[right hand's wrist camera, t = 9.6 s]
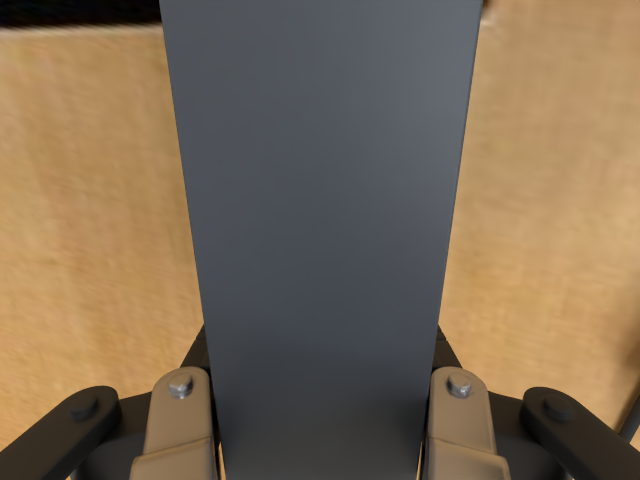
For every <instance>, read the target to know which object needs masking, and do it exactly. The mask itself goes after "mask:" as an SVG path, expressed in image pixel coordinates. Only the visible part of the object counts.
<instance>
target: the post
mask: <svg viewBox="0 0 640 480" xmlns="http://www.w3.org/2000/svg"><path fill="white" fill-rule="evenodd" d="M159 3H160V10H161V17H162V25H163V32H164V39H165V46H166V53H167V60H168V68H169V75H170V82H171V89H172V96H173V103H174V111H175V118H176V125H177V132H178V139H179V146H180V154H181V161H182V168H183V175H184V182H185V189H186V197H187V204H188V211H189V218H190V225H191V232H192V240H193V247H194V254H195V261H196V268H197V275H198V283H199V290H200V297H201V304H202V311H203V318H204V326H205V333H206V340H207V347H208V354H209V361H210V369H211V376H212V383H213V390H214V397H215V404H216V412H217V419H218V426H219V433H220V440H221V447H222V455H223V462H224V469H225V476H226V480H416V478H417V471H418V464H419V456H420V449H421V442H422V435H423V428H424V421H425V413H426V406H427V399H428V392H429V385H430V378H431V370H432V363H433V356H434V349H435V342H436V335H437V327H438V320H439V313H440V306H441V299H442V292H443V284H444V277H445V270H446V263H447V256H448V248H449V241H450V234H451V227H452V220H453V213H454V205H455V198H456V191H457V184H458V177H459V170H460V162H461V155H462V148H463V141H464V134H465V127H466V119H467V112H468V105H469V98H470V91H471V84H472V76H473V69H474V62H475V55H476V48H477V41H478V33H479V26H480V19H481V12H482V5H483V0H159Z"/></svg>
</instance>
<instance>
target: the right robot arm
mask: <svg viewBox="0 0 640 480" xmlns="http://www.w3.org/2000/svg"><path fill="white" fill-rule="evenodd" d="M639 425H640V395H639V396H638V398H637V400H636V402H635V404H634V406H633V407H632V409H631V411H630V413H629V415H628V417H627V419H626V421H625V423H624V424H623V426H622V428H621V430H620V432H619V434H617V433H616V432H614V431H613V430H612V429H611V428H610V427H608V426H607V425H606V424H605V423H603V422H602V421H601V420H600V419H599V418H597V417H596V416H595V415H594V414H592V413H591V412H590V411H589V410H588V409H586V408H585V407H584V406H583V405H581V404H580V403H579V402H578V401H576V400H575V399H573V398H572V397H570V396H569V395H567V394H565V393H563V392H560V391H558V390H555V389H551V388H547V387H533V388H530V389H528V390H526V392H525V393H524V396H523V400H520V399H516V398H512V397H508V396H504V395H500V394H496V393H493V392H490V391H488V390H487V388H486V386H485V384H484V383H483V381H482V380H481V379H480V378H479V377H477V376H476V375H474V374H473V373H471V372H469V371H467V370H465V369H463V368H462V366H461V364H460V363H459V361H458V359H457V357H456V355H455V354H454V352H453V350H452V348H451V346H450V345H449V343H448V341H446V337H445V336H444V334H443V332H442V330H441V328H440V327H439V325H438V327H437V335H436V342H435V349H434V356H433V363H432V370H431V378H430V385H429V392H428V399H427V406H426V413H425V421H424V428H423V435H422V445H421V452H420V464H419V477H418V480H572V479H573V478H574V479H575V480H640V452H639V451H638V450H637V449H635V448H634V447H633V446H632V445H630V444H629V443H630V441H631V439H632V438H633V436H634V434H635V432H636V430H637V429H638V427H639ZM220 441H221V440H220V433H219V426H218V419H217V412H216V404H215V397H214V390H213V383H212V376H211V369H210V361H209V354H208V347H207V340H206V333H205V326H204V324H203V326H202V328H201V330H200V332H199V333H198V335H197V337H196V340H195V341H194V343H193V344H192V346H191V348H190V350H189V352H188V354H187V355H186V357H185V359H184V361H183V363H182V364H181V366H180V368H178V369H175V370H173V371H171V372H169V373H167V374H165V375H164V376H163V377H161V378H160V379H159V380H158V381H157V383H156V384H155V386H154V387H153V390H152V391H151V392H148V393H145V394H141V395H136V396H132V397H128V398H124V399H120V400H119V398H118V394H117V392H116V390H115V389H113V388H112V387H109V386H94V387H90V388H86V389H83V390H81V391H79V392H76V393H75V394H73V395H71V396H69V397H68V398H66V399H65V400H64V401H62V402H61V403H60V404H59V405H57V406H56V407H55V408H54V409H52V410H51V411H50V412H49V413H48V414H46V415H45V416H44V417H43V418H41V419H40V420H39V421H38V422H37V423H35V424H34V425H33V426H32V427H30V428H29V429H28V430H27V431H26V432H24V433H23V434H22V435H21V436H19V437H18V438H17V439H16V440H15V441H13V442H12V443H11V444H10V445H8V446H7V447H6V448H5V449H3V450H2V451H1V452H0V480H65V479H66V478H67V477H68V476H69V475H70V478H71V480H222V478H221V464H220V452H219V444H220Z"/></svg>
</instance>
